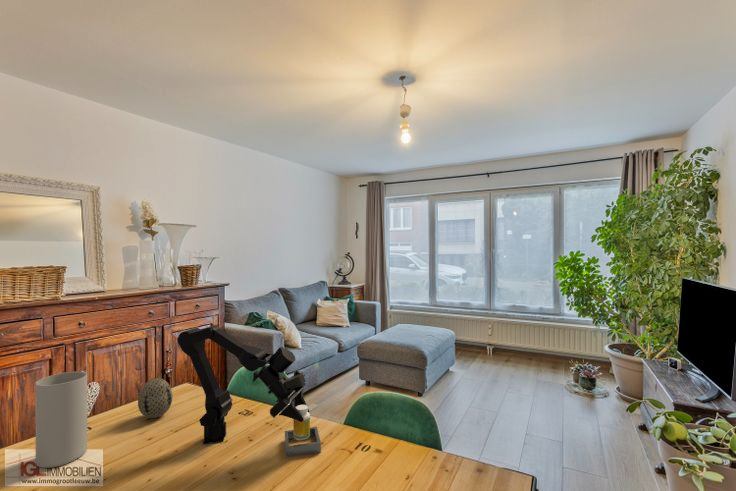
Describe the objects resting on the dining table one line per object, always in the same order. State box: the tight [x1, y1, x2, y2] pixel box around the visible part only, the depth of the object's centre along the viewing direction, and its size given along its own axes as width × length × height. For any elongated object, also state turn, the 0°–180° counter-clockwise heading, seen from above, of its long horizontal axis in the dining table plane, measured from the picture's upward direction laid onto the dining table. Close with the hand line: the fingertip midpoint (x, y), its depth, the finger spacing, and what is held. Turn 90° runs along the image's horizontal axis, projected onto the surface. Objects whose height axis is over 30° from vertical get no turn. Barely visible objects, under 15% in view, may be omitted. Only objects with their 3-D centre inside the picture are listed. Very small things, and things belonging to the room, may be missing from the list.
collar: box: [284, 426, 322, 459], centre depth 119 cm, size 11×11×3 cm
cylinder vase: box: [35, 371, 88, 469], centre depth 114 cm, size 12×12×25 cm
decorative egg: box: [137, 377, 174, 419], centre depth 141 cm, size 12×12×15 cm
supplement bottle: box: [292, 404, 311, 441], centre depth 120 cm, size 5×5×10 cm
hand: (305, 416), depth 119 cm, fingers closed on supplement bottle, 5 cm apart
